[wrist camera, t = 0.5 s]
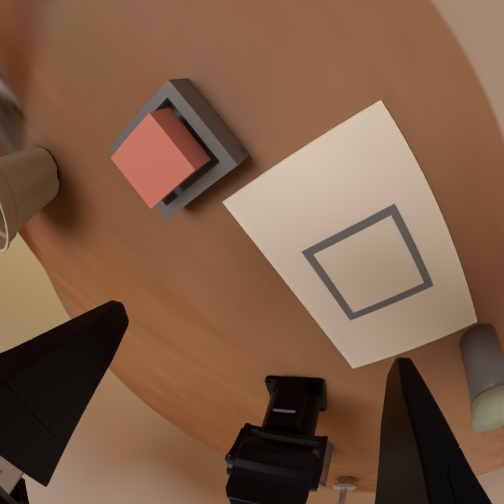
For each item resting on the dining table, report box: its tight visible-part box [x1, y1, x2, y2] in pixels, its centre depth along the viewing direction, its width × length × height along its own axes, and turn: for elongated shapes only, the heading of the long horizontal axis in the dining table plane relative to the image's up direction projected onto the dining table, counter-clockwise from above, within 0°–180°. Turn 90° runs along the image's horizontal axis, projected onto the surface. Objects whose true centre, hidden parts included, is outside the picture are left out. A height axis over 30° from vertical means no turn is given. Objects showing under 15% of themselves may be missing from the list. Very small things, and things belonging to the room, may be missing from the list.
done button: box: [111, 107, 211, 208], centre depth 18 cm, size 4×4×2 cm
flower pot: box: [0, 147, 59, 253], centre depth 23 cm, size 9×9×9 cm
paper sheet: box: [223, 100, 477, 369], centre depth 22 cm, size 20×13×1 cm, turn 39°
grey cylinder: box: [460, 324, 504, 432], centre depth 18 cm, size 4×4×9 cm
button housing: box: [110, 78, 249, 220], centre depth 20 cm, size 7×7×2 cm
